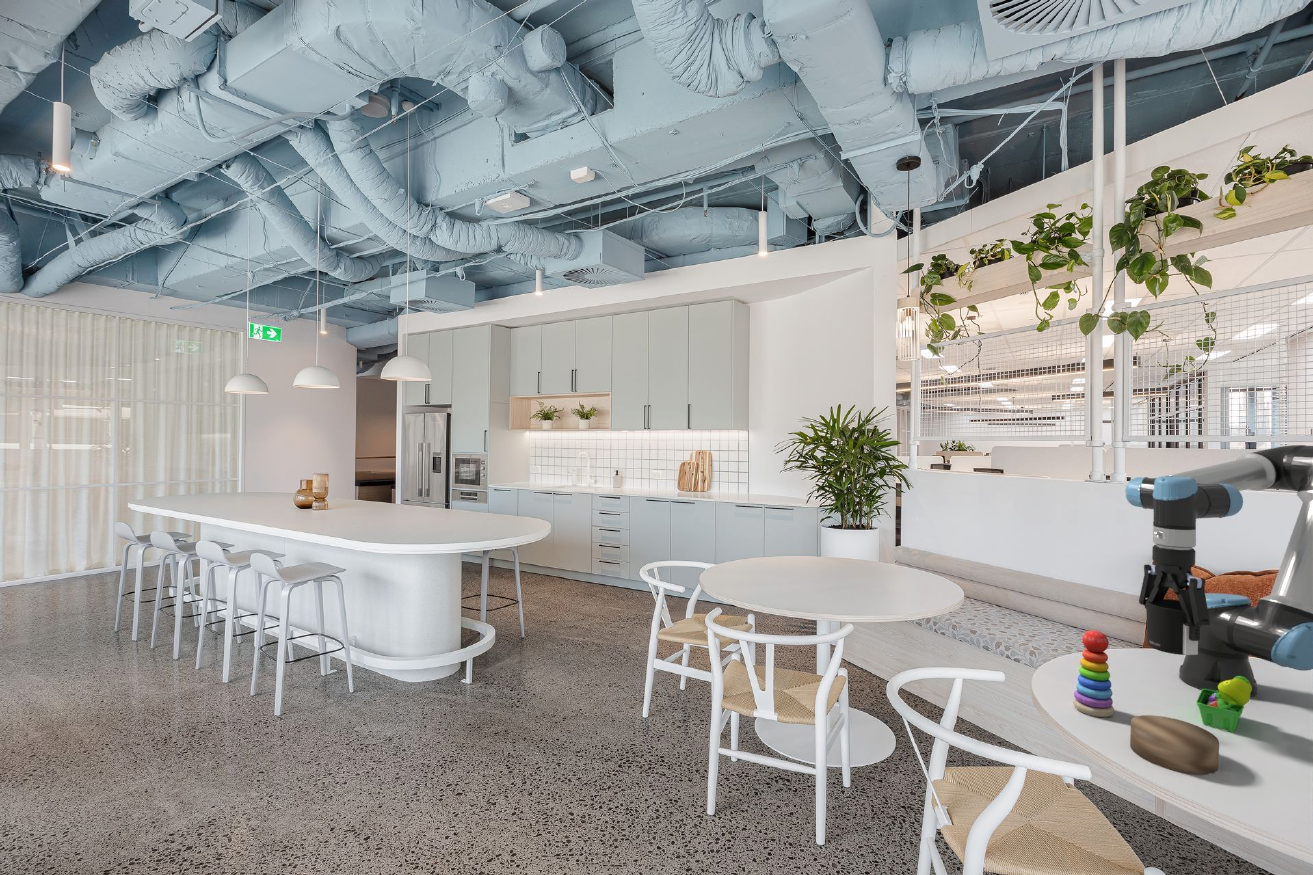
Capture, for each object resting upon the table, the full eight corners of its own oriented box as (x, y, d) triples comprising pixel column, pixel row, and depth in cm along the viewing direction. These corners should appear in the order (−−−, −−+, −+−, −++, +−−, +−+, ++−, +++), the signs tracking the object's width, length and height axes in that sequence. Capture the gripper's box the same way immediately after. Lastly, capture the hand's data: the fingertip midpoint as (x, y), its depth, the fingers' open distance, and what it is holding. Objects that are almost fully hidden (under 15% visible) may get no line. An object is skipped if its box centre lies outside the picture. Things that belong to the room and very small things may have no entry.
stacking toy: (1120, 720, 148) (1123, 638, 147) (1081, 716, 149) (1083, 635, 148) (1104, 704, 155) (1106, 626, 155) (1067, 701, 157) (1069, 624, 156)
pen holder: (1142, 638, 153) (1143, 596, 152) (1194, 645, 148) (1195, 601, 147) (1148, 651, 144) (1149, 606, 144) (1203, 659, 140) (1204, 613, 139)
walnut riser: (1177, 737, 140) (1177, 714, 139) (1238, 773, 126) (1239, 748, 125) (1113, 738, 139) (1114, 715, 139) (1167, 775, 125) (1168, 749, 125)
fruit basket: (1201, 708, 153) (1203, 661, 153) (1252, 721, 147) (1254, 671, 147) (1194, 724, 145) (1196, 674, 145) (1248, 739, 139) (1250, 686, 139)
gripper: (1120, 537, 156) (1119, 630, 157) (1199, 557, 134) (1197, 665, 135) (1151, 536, 156) (1149, 629, 157) (1235, 556, 135) (1232, 664, 135)
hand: (1171, 646), depth 146 cm, fingers closed on pen holder, 9 cm apart
